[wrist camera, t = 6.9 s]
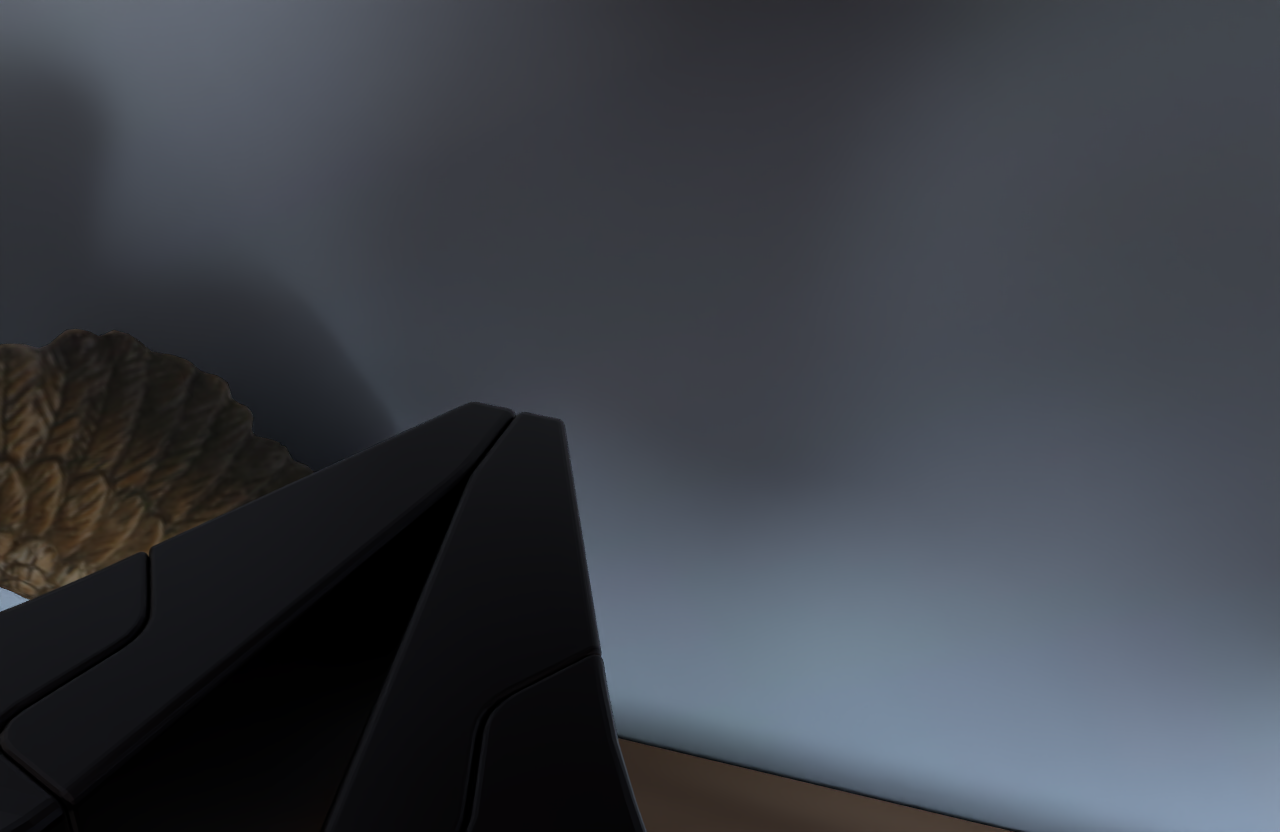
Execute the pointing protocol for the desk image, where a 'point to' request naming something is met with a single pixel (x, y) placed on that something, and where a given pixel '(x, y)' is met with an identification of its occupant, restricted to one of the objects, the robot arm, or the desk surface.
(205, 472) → the eagle figurine
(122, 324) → the desk surface
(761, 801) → the wooden frame
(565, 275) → the desk surface
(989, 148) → the desk surface
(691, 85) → the desk surface
